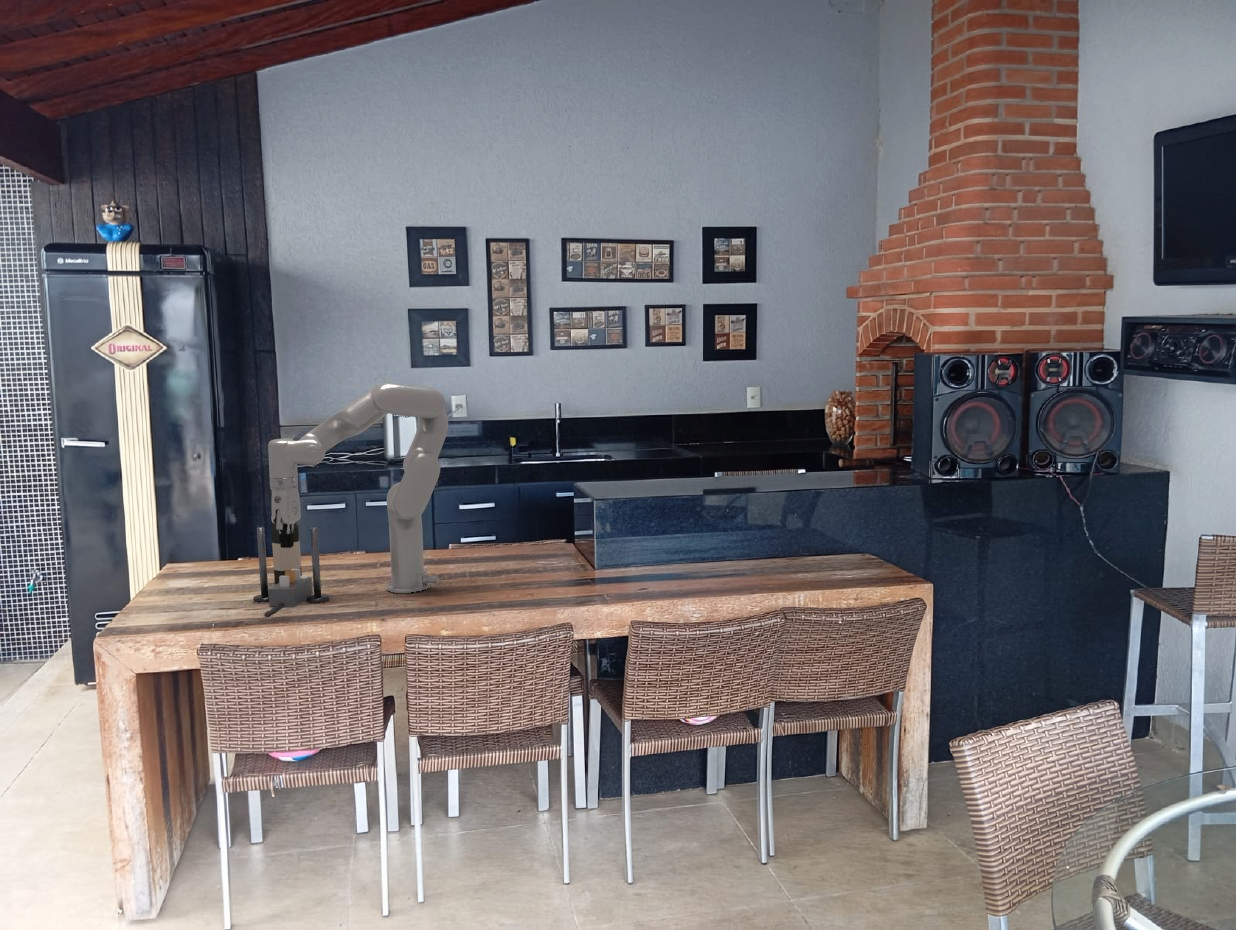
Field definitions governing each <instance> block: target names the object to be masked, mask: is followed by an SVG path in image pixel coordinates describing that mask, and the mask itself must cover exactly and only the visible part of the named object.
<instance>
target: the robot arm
mask: <svg viewBox="0 0 1236 930" xmlns="http://www.w3.org/2000/svg"><path fill="white" fill-rule="evenodd" d="M445 402H446V401H445V398H444V395H443V394H442V393H441V392H440V391H439V390H437V389H435V388H433V387H430V386H421V387H418V386H410V385H409V386H408V385H401V384H396V383H392V382H389V381H383V382H380V383H377V384H375V386H373V387H372V388H371V389H368V391H366V392H365V393H363V394H362V395H360V396H358V397H357V398H356V399H355V400H353V401H352V402H351V403H349V404H348V405H346V406H345V407H343V408H342V409H341V410H338V411H337V412H336V413H334V414H333V415H332V416H331V417H329V418H327V419H326V420H324V421H323V422H321V423H319V424H318V425H317V426H316V427H314V428H313V429H311V430H310V431H308V432H307V433H306V434H304V435H303V436H302V437H300V438H299V439H298V440H294V439H293V438H276V439H271V440H270V441H268V445H267V449H268V451H267V452H268V469H269V470H268V471H269V489H270V490H271V520H272V524H273V525H274V524H276V529H277V530H279V534H280V546H281V548H291V547H293V546H294V542H293V530H294V524H295V522H296V523H297V522H298V521H300V520H301V518H302V510H301V509H302V508H301V499H300V498H301V497H300V493H299V492H300V491H299V476H298V473H299V472H298V465H305V466H314V465H318V464H319V463H321V462H322V461H323V460H324V458H325V456H326V452H328V451H329V450H331V449H332V448H333V447H335V446H336V445H337V444H339V443H341V442H342V441H344V440H347V439H348V438H354V437H355V436H358V435H361V434H362V433H364V432H365V431H366V430H367V429H369V428H370V427H371V426H373V425H374V424H376V423H377V422H378V421H380V420H381V419H383V418H384V417H386V416H387V415H389V414H390V415H395V416H396V415H397V416H401V417H402V416H405V417H413V418H418V423H417V424H418V425H417V429H416V431H415V435H414V436H413V439H412V442H411V444H410V447H409V449H408V451H407V452H406V455H405V457H404V460H403V462H402V464H403V465H402V468H403V471H404V473H403V475H402V478H401V480H400V482H396V483H394V484H393V485H392V486H391V487H390V488H389V490H388V491H387V495H386V507H387V508H386V510H387V518H388V531H389V532H388V533H389V551H390V553H389V555H390V574H391V582H390V583H388V584H387V585H386V590H387V591H388V592H389V591H390V592H389V593H393V592H394V593H395V594H412V593H411V592H414V593H417V592H416V591H420V592H423V591H422V590H424V589H426V588H428V589H430V587H431V584H439V576H437V575H429V574H428V570H425V563H424V562H425V561H424V559H425V557H424V540H423V539H424V538H423V520H422V519H423V518H422V514H423V513H424V511H425V510H426V507H427V506H428V503H429V501H430V499H431V497H432V494H433V492H434V490H435V488H436V485H437V483H438V479H439V477H440V473H441V463H440V460H439V455H440V454H441V451H442V448H443V445H444V443H445V440H446V437H447V435H448V430H449V429H448V428H449V418H448V412H447V409H446V403H445ZM282 522H283V523H282ZM426 590H427V589H426ZM424 591H425V590H424Z"/></svg>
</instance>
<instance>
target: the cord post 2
mask: <svg viewBox="0 0 1236 930" xmlns="http://www.w3.org/2000/svg"><path fill="white" fill-rule="evenodd" d="M309 530H310V531H309V533H310V547H311V549H310V550H311V552H310V553H311V563H312V564H311V566H312V587H313V594H312V595H310V596H308V597H306V599H305V602H306V603H307V602H308V604H321V603H320V602H323V603H326V602H329V601H330V599H331V598H330V595H329V594H326V593H322V583H321V582H322V581H321V566H320V565H321V564H320V549H319V545H320V544H319V533H318V531H319V528H318V526H316V527H315V526H314V527H309Z"/></svg>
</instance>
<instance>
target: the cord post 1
mask: <svg viewBox="0 0 1236 930" xmlns="http://www.w3.org/2000/svg"><path fill="white" fill-rule="evenodd" d="M256 536H257V539H256V540H257V552H258V553H257V554H258V565H259V580H260V584H259V585H260V594H257V595H254V596H253V598H252V599H253V600H252V601H254V603H255V602H268V603H269V591H268V589H269V583H268V567H267V550H266V548H267V547H266V534H265V527H264V526H258V527H256Z"/></svg>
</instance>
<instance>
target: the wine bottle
mask: <svg viewBox="0 0 1236 930" xmlns="http://www.w3.org/2000/svg"><path fill="white" fill-rule="evenodd" d="M282 523H283V522H282ZM300 541H301V537H300V526H299V524H298V523H297V521H296V522H295V524H294V530H293V542H294V546H293V547H291V548H281V546H280V534H279V530H277V529H276V524H274V523H273V525H272V527H271V545H272V546H271V547H272V557H273V558H272V562H273V574H274V575H273V577H274V584H276V583H279V576H285V572H286V571H291V569H300V574H301V576H303V575H302V572H303V571H302V559H301V558H302V555H301V542H300Z"/></svg>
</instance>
